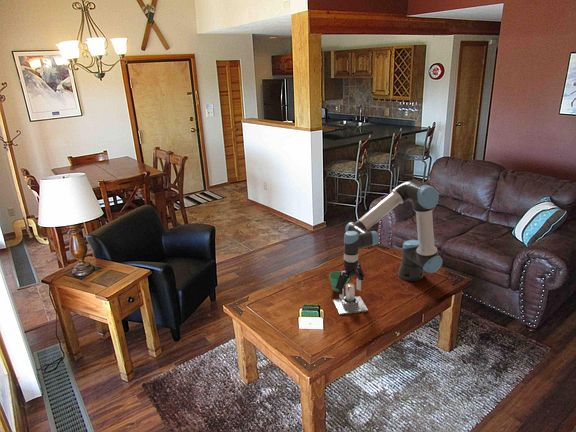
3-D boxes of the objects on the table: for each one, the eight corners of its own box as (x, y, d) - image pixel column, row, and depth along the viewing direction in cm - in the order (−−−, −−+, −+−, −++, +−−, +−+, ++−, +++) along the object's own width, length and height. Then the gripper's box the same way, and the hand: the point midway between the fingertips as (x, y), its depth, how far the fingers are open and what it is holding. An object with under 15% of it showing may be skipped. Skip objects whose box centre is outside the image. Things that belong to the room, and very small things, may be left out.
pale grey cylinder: (356, 304, 223) (356, 285, 218) (350, 308, 220) (350, 288, 215) (349, 301, 226) (350, 282, 222) (343, 304, 223) (343, 285, 219)
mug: (335, 295, 234) (335, 280, 230) (326, 288, 242) (325, 273, 238) (355, 288, 240) (355, 274, 237) (345, 281, 248) (345, 267, 245)
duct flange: (359, 297, 231) (360, 291, 230) (368, 311, 218) (368, 305, 217) (332, 301, 229) (332, 295, 228) (339, 315, 216) (339, 308, 215)
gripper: (361, 250, 223) (360, 283, 231) (329, 264, 209) (329, 299, 216) (371, 254, 218) (370, 288, 225) (339, 269, 203) (339, 305, 211)
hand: (350, 294), depth 221 cm, fingers open, 13 cm apart
